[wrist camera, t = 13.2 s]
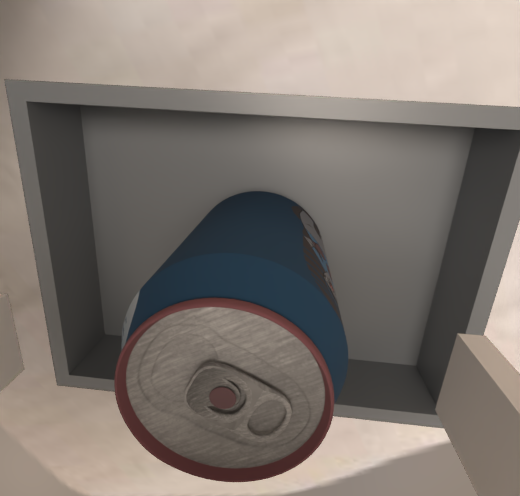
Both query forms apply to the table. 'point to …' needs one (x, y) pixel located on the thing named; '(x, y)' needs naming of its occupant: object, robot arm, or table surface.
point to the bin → (283, 183)
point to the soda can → (235, 345)
